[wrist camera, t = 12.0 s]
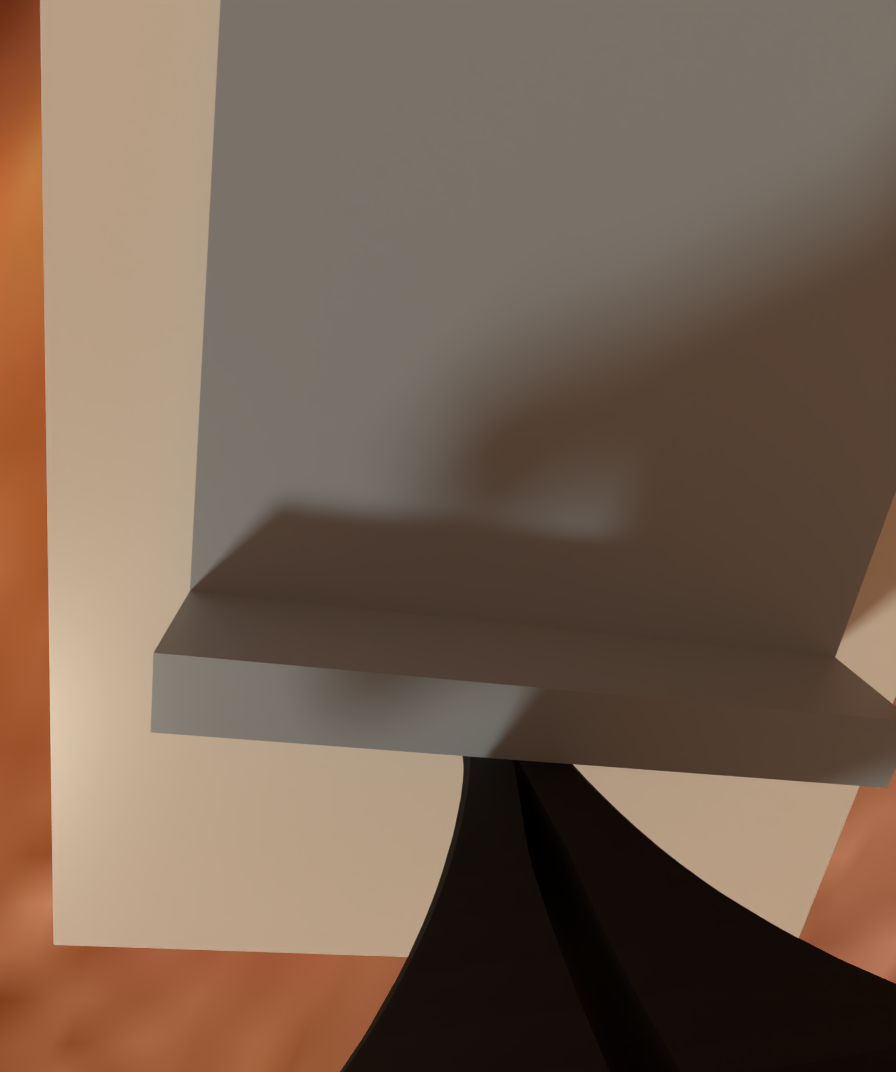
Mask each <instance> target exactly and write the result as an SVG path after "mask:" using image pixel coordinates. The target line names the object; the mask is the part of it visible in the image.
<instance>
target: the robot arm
mask: <svg viewBox="0 0 896 1072" xmlns="http://www.w3.org/2000/svg"><path fill="white" fill-rule="evenodd" d="M462 757H463V783H462V791H461V798H460V804H459V809H458V813H457V818H456V823H455V828H454V832H453V836H452V840H451V844H450V847H449V850H448V854H447V857H446V861H445V864H444V868H443V871H442V874H441V877H440V880H439V883H438V886H437V889H436V892H435V894H434V897H433V900H432V902H431V905H430V907H429V910H428V912H427V915H426V917H425V920H424V922H423V925H422V927H421V929H420V931H419V934H418V936H417V938H416V940H415V942H414V945H413V947H412V949H411V951H410V953H409V956H408V958H407V960H406V962H405V964H404V966H403V968H402V970H401V972H400V974H399V976H398V978H397V979H396V981H395V983H394V985H393V987H392V988H391V990H390V992H389V994H388V995H387V997H386V999H385V1001H384V1002H383V1004H382V1006H381V1008H380V1010H379V1011H378V1013H377V1015H376V1017H375V1018H374V1020H373V1022H372V1024H371V1025H370V1027H369V1029H368V1030H367V1032H366V1034H365V1035H364V1037H363V1038H362V1040H361V1042H360V1043H359V1045H358V1046H357V1048H356V1049H355V1051H354V1052H353V1053H352V1055H351V1056H350V1058H349V1059H348V1061H347V1062H346V1064H345V1065H344V1067H343V1068H342V1070H341V1071H340V1072H896V984H895V983H893V982H890V981H888V980H886V979H883V978H881V977H879V976H877V975H874V974H872V973H870V972H867V971H865V970H863V969H861V968H858V967H856V966H854V965H851V964H849V963H847V962H845V961H843V960H841V959H838V958H836V957H834V956H832V955H830V954H828V953H827V952H825V951H823V950H821V949H819V948H817V947H815V946H813V945H811V944H809V943H807V942H805V941H803V940H801V939H799V938H797V937H795V936H793V935H792V934H790V933H788V932H786V931H784V930H783V929H781V928H779V927H777V926H775V925H774V924H772V923H770V922H768V921H767V920H765V919H763V918H762V917H760V916H758V915H757V914H755V913H754V912H752V911H750V910H749V909H747V908H745V907H744V906H742V905H740V904H739V903H737V902H735V901H734V900H732V899H730V898H729V897H727V896H726V895H724V894H722V893H721V892H719V891H718V890H716V889H715V888H713V887H712V886H711V885H709V884H708V883H706V882H705V881H703V880H702V879H701V878H699V877H698V876H696V875H695V874H694V873H692V872H691V871H690V870H688V869H687V868H686V867H684V866H683V865H681V864H680V863H679V862H678V861H676V860H675V859H674V858H672V857H671V856H670V855H669V854H667V853H666V852H665V851H664V850H663V849H661V848H660V847H659V846H658V845H656V844H655V843H654V842H653V841H652V840H651V839H649V838H648V837H647V836H646V835H645V834H644V833H642V832H641V831H640V830H639V829H638V828H637V827H635V826H634V825H633V824H632V823H631V822H630V821H629V820H628V819H627V818H626V817H624V816H623V815H622V814H621V813H620V812H619V811H618V810H617V809H616V808H615V807H614V806H613V805H612V804H611V803H610V802H609V801H608V800H607V799H606V798H605V797H604V796H603V795H602V794H601V793H600V792H599V791H598V790H597V789H596V788H595V787H594V786H593V785H592V784H591V783H590V782H589V781H588V780H587V779H586V778H585V777H584V776H583V775H582V774H581V773H580V771H579V770H578V769H577V768H576V767H575V766H574V765H573V764H563V763H550V762H536V761H523V760H510V759H497V758H483V757H470V756H462Z"/></svg>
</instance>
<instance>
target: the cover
mask: <svg viewBox="0 0 896 1072" xmlns="http://www.w3.org/2000/svg"><path fill="white" fill-rule="evenodd" d="M895 492H896V0H220V20H219V39H218V58H217V78H216V97H215V116H214V136H213V155H212V174H211V194H210V213H209V232H208V252H207V271H206V290H205V310H204V329H203V348H202V368H201V387H200V406H199V426H198V445H197V464H196V484H195V503H194V522H193V542H192V561H191V580H190V592H189V593H188V595H187V597H186V598H185V600H184V602H183V603H182V605H181V607H180V609H179V610H178V612H177V614H176V615H175V617H174V619H173V620H172V622H171V624H170V626H169V627H168V629H167V631H166V632H165V634H164V636H163V637H162V639H161V641H160V643H159V644H158V646H157V648H156V649H155V651H154V653H153V680H152V708H151V732H152V733H165V734H178V735H192V736H205V737H218V738H231V739H245V740H258V741H271V742H284V743H298V744H311V745H324V746H337V747H351V748H364V749H377V750H391V751H404V752H417V753H430V754H444V755H457V756H470V757H483V758H497V759H510V760H523V761H536V762H550V763H563V764H576V765H589V766H603V767H616V768H629V769H642V770H656V771H669V772H682V773H695V774H709V775H722V776H735V777H749V778H762V779H775V780H788V781H802V782H815V783H828V784H841V785H855V786H868V787H881V788H887V787H888V785H889V782H890V780H891V778H892V775H893V773H894V770H895V768H896V706H895V705H893V704H892V703H891V702H890V701H889V700H887V699H886V698H885V697H884V696H882V695H881V694H880V693H879V692H877V691H876V690H875V689H874V688H872V687H871V686H870V685H869V684H868V683H866V682H865V681H864V680H863V679H861V678H860V677H859V676H858V675H856V674H855V673H854V672H853V671H852V670H850V669H849V668H848V667H847V666H845V665H844V664H843V663H842V662H840V661H839V660H838V659H837V658H835V656H836V654H837V651H838V648H839V645H840V643H841V640H842V637H843V635H844V632H845V629H846V626H847V624H848V621H849V618H850V615H851V613H852V610H853V607H854V604H855V602H856V599H857V596H858V593H859V591H860V588H861V585H862V583H863V580H864V577H865V574H866V572H867V569H868V566H869V563H870V561H871V558H872V555H873V552H874V550H875V547H876V544H877V541H878V539H879V536H880V533H881V530H882V528H883V525H884V522H885V520H886V517H887V514H888V511H889V509H890V506H891V503H892V500H893V498H894V495H895Z"/></svg>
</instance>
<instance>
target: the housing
mask: <svg viewBox="0 0 896 1072" xmlns="http://www.w3.org/2000/svg"><path fill="white" fill-rule="evenodd" d="M219 20H220V0H40V40H41V109H42V178H43V247H44V316H45V385H46V454H47V523H48V592H49V661H50V730H51V799H52V868H53V937H54V945H76V946H105V947H134V948H164V949H193V950H222V951H251V952H280V953H309V954H338V955H367V956H396V957H408V956H409V953H410V951H411V949H412V947H413V945H414V942H415V940H416V938H417V936H418V934H419V931H420V929H421V927H422V925H423V922H424V920H425V917H426V915H427V912H428V910H429V907H430V905H431V902H432V900H433V897H434V894H435V892H436V889H437V886H438V883H439V880H440V877H441V874H442V871H443V868H444V864H445V861H446V857H447V854H448V850H449V847H450V844H451V840H452V836H453V832H454V828H455V823H456V818H457V813H458V809H459V804H460V798H461V791H462V783H463V757H462V756H457V755H444V754H430V753H417V752H404V751H391V750H377V749H364V748H351V747H337V746H324V745H311V744H298V743H284V742H271V741H258V740H245V739H231V738H218V737H205V736H192V735H178V734H165V733H152V732H151V708H152V680H153V653H154V651H155V649H156V648H157V646H158V644H159V643H160V641H161V639H162V637H163V636H164V634H165V632H166V631H167V629H168V627H169V626H170V624H171V622H172V620H173V619H174V617H175V615H176V614H177V612H178V610H179V609H180V607H181V605H182V603H183V602H184V600H185V598H186V597H187V595H188V593H189V592H190V580H191V561H192V542H193V522H194V503H195V484H196V464H197V445H198V426H199V406H200V387H201V368H202V348H203V329H204V310H205V290H206V271H207V252H208V232H209V213H210V194H211V174H212V155H213V136H214V116H215V97H216V78H217V58H218V39H219ZM835 658H837V659H838V660H839V661H840V662H842V663H843V664H844V665H845V666H847V667H848V668H849V669H850V670H852V671H853V672H854V673H855V674H856V675H858V676H859V677H860V678H861V679H863V680H864V681H865V682H866V683H868V684H869V685H870V686H871V687H872V688H874V689H875V690H876V691H877V692H879V693H880V694H881V695H882V696H884V697H885V698H886V699H887V700H889V701H890V702H891V703H892V704H893V701H894V699H895V696H896V492H895V495H894V498H893V500H892V503H891V506H890V509H889V511H888V514H887V517H886V520H885V522H884V525H883V528H882V530H881V533H880V536H879V539H878V541H877V544H876V547H875V550H874V552H873V555H872V558H871V561H870V563H869V566H868V569H867V572H866V574H865V577H864V580H863V583H862V585H861V588H860V591H859V593H858V596H857V599H856V602H855V604H854V607H853V610H852V613H851V615H850V618H849V621H848V624H847V626H846V629H845V632H844V635H843V637H842V640H841V643H840V645H839V648H838V651H837V654H836V656H835ZM573 765H574V766H575V767H576V768H577V769H578V770H579V771H580V773H581V774H582V775H583V776H584V777H585V778H586V779H587V780H588V781H589V782H590V783H591V784H592V785H593V786H594V787H595V788H596V789H597V790H598V791H599V792H600V793H601V794H602V795H603V796H604V797H605V798H606V799H607V800H608V801H609V802H610V803H611V804H612V805H613V806H614V807H615V808H616V809H617V810H618V811H619V812H620V813H621V814H622V815H623V816H624V817H626V818H627V819H628V820H629V821H630V822H631V823H632V824H633V825H634V826H635V827H637V828H638V829H639V830H640V831H641V832H642V833H644V834H645V835H646V836H647V837H648V838H649V839H651V840H652V841H653V842H654V843H655V844H656V845H658V846H659V847H660V848H661V849H663V850H664V851H665V852H666V853H667V854H669V855H670V856H671V857H672V858H674V859H675V860H676V861H678V862H679V863H680V864H681V865H683V866H684V867H686V868H687V869H688V870H690V871H691V872H692V873H694V874H695V875H696V876H698V877H699V878H701V879H702V880H703V881H705V882H706V883H708V884H709V885H711V886H712V887H713V888H715V889H716V890H718V891H719V892H721V893H722V894H724V895H726V896H727V897H729V898H730V899H732V900H734V901H735V902H737V903H739V904H740V905H742V906H744V907H745V908H747V909H749V910H750V911H752V912H754V913H755V914H757V915H758V916H760V917H762V918H763V919H765V920H767V921H768V922H770V923H772V924H774V925H775V926H777V927H779V928H781V929H783V930H784V931H786V932H788V933H790V934H792V935H793V936H795V937H797V938H799V935H800V933H801V930H802V928H803V925H804V923H805V920H806V918H807V915H808V913H809V910H810V908H811V905H812V903H813V901H814V898H815V896H816V893H817V891H818V888H819V886H820V883H821V881H822V878H823V876H824V873H825V871H826V868H827V866H828V863H829V861H830V858H831V856H832V853H833V851H834V848H835V846H836V843H837V841H838V838H839V836H840V833H841V831H842V828H843V826H844V823H845V821H846V818H847V816H848V813H849V811H850V808H851V806H852V803H853V801H854V798H855V796H856V794H857V791H858V789H859V786H855V785H841V784H828V783H815V782H802V781H788V780H775V779H762V778H749V777H735V776H722V775H709V774H695V773H682V772H669V771H656V770H642V769H629V768H616V767H603V766H589V765H576V764H573Z"/></svg>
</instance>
